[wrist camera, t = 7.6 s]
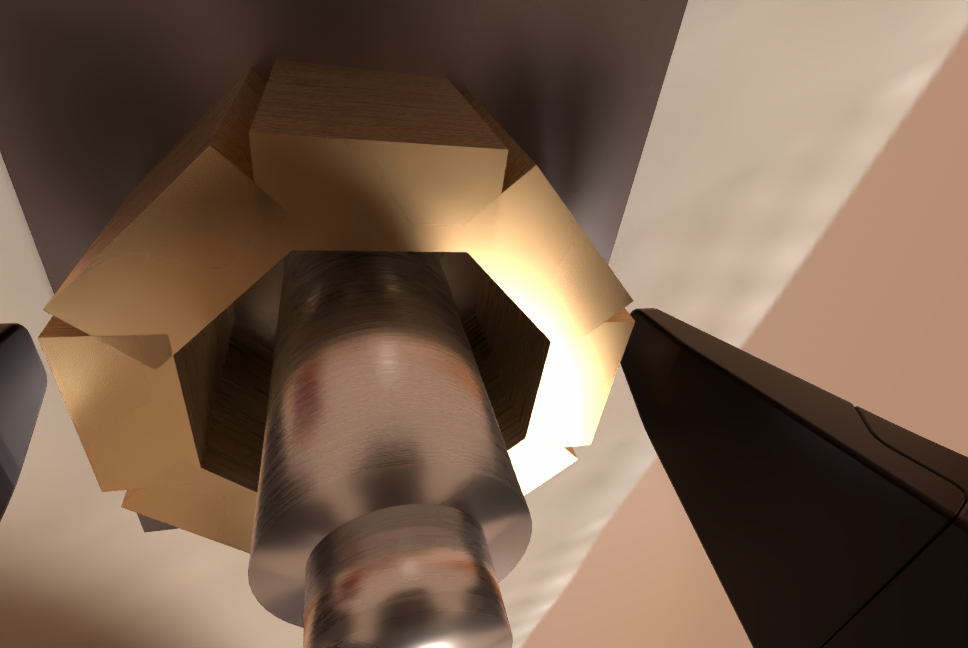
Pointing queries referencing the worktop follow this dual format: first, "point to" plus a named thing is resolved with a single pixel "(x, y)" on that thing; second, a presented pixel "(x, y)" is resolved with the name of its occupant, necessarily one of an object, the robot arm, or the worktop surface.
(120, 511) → the worktop surface
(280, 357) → the shaft stand
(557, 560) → the worktop surface
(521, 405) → the ring
